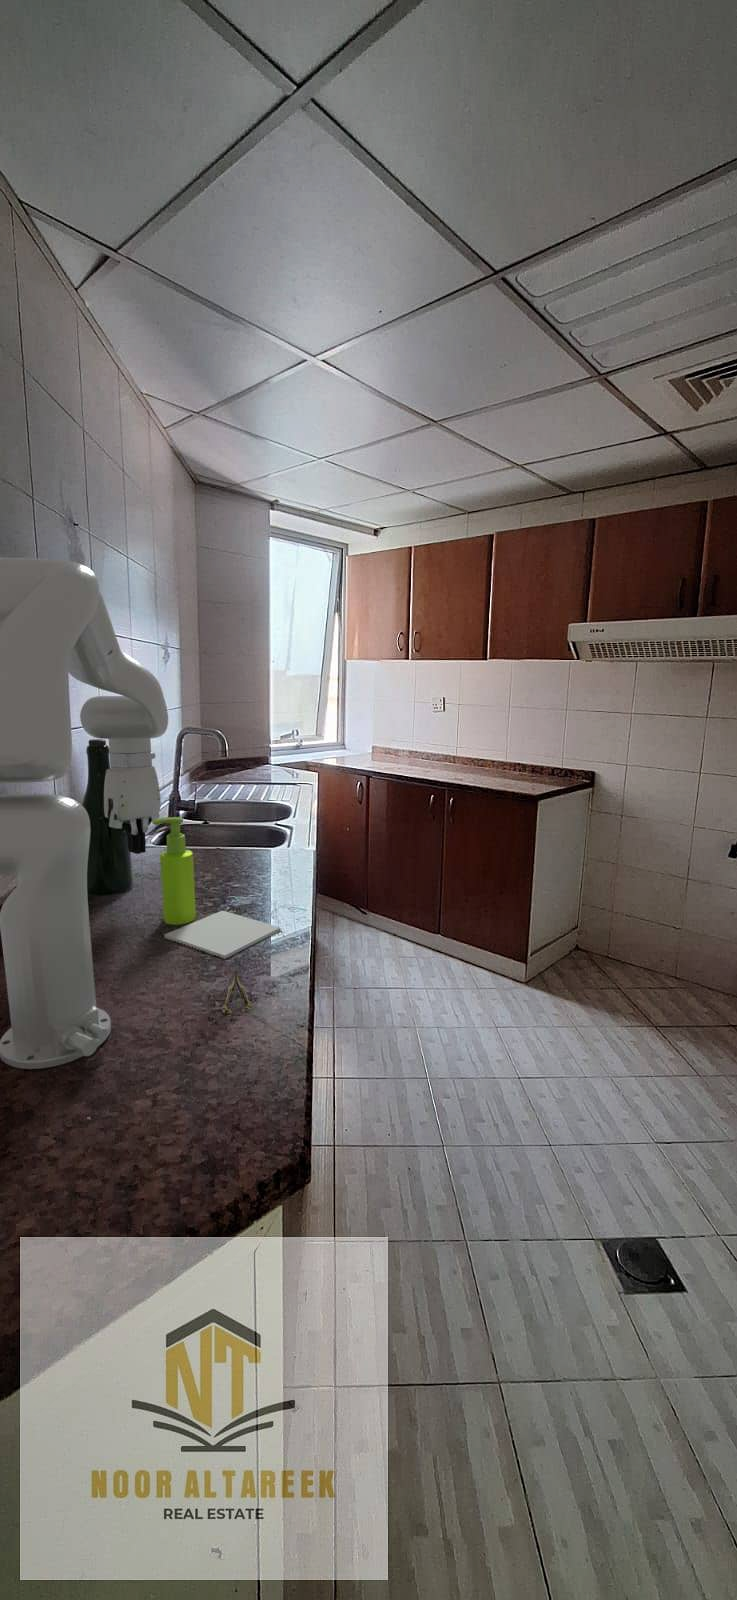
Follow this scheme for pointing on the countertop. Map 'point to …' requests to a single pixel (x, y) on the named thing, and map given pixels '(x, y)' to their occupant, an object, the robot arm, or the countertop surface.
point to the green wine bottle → (104, 832)
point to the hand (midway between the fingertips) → (137, 851)
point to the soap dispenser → (177, 876)
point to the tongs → (231, 991)
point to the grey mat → (223, 933)
